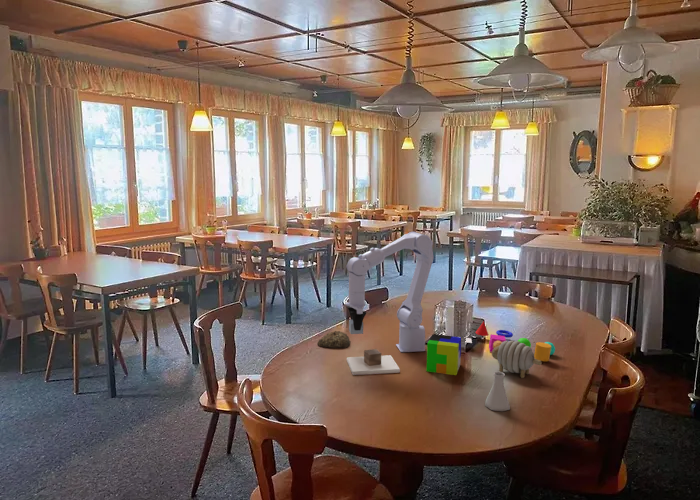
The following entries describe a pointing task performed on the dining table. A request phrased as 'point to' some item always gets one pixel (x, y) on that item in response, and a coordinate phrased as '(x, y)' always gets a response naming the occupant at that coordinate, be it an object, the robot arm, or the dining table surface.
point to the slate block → (352, 330)
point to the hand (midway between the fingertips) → (356, 327)
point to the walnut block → (372, 357)
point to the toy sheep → (515, 357)
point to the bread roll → (334, 340)
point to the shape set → (541, 348)
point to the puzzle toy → (443, 354)
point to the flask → (498, 394)
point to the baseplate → (361, 367)
